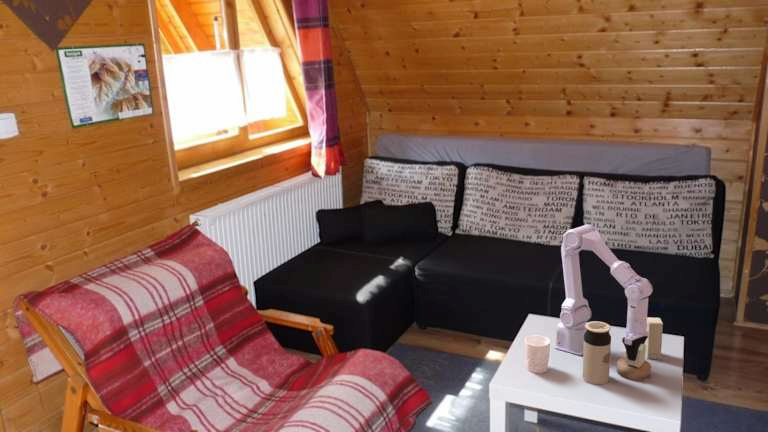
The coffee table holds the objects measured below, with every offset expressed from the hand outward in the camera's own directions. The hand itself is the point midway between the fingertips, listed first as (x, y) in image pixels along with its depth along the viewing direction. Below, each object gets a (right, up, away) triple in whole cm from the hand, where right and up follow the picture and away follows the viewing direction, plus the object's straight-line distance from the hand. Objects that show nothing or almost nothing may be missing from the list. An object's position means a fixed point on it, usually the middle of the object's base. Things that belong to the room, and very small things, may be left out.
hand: (634, 356), depth 202 cm
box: (+11, -2, +12) cm, 16 cm away
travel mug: (-13, -7, -1) cm, 14 cm away
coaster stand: (0, -5, +1) cm, 6 cm away
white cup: (-29, -5, +7) cm, 31 cm away
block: (0, -2, 0) cm, 2 cm away
